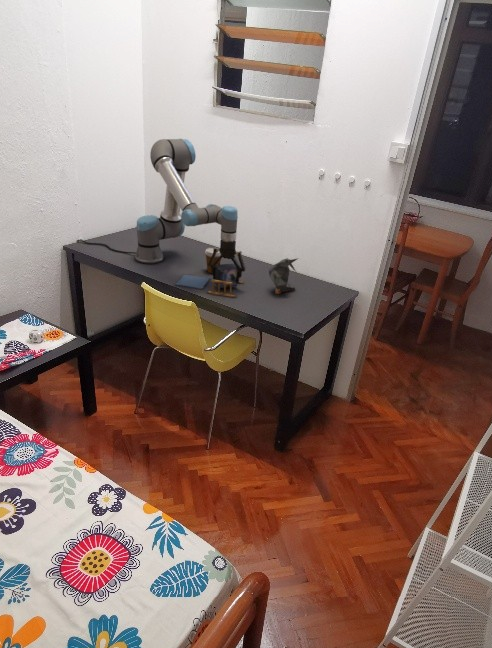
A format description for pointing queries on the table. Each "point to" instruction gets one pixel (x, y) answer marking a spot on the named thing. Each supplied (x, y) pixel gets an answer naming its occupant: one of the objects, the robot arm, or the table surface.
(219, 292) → the rack
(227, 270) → the small box
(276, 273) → the bird figurine
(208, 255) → the disposable coffee cup
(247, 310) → the table surface
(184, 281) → the felt mat
